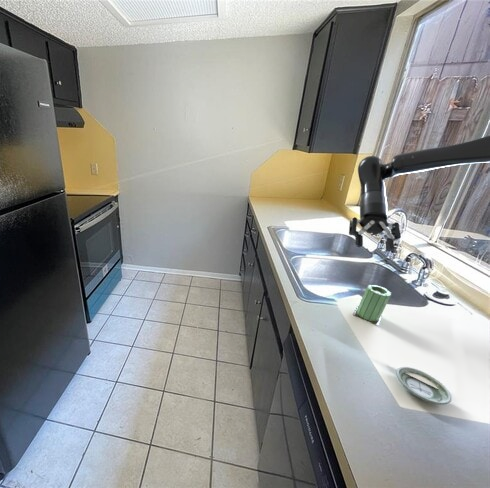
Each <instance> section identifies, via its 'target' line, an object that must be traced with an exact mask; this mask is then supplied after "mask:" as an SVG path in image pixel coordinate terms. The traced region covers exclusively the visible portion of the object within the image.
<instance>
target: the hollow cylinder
mask: <svg viewBox="0 0 490 488" xmlns="http://www.w3.org/2000/svg"><path fill="white" fill-rule="evenodd" d="M374 290H378V291H381V292H382V293H383V294H382V293H378V292H376V291H374ZM391 297H392V292H391V291H390V290H389V289H387V288H385V287H383V286H380V285H376V284H368V285H367V286H366V289H365V291H364V293H363V295H362V297H361V300H360V302H359V304H358V305H357V306H358V309H357V311H356V313H357V314H358V315H359V316H360V317H362V318H363V319H365V320H369V321H372V322H376V321H378V320H379V318H380V316H382V315H383V312H384V310H385V308H386V306H387V303H388V302H389V300H390V298H391ZM363 319H362V320H363ZM365 320H364V321H365Z"/></svg>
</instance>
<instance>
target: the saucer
mask: <svg viewBox="0 0 490 488" xmlns="http://www.w3.org/2000/svg"><path fill="white" fill-rule="evenodd" d="M395 373H396V374H395V375H396V378H397V380H398V381H399V382H400V384H401V385H402V386H403V387H404V388H405V389H406V390H407V392H409V393H410V394H411V395H414V396H415V397H417V398H418V399H420V400H422V401H425V402H427V403H431V404H437V405H448V404H450V403H451V402H452V394H451V392H450V391H449V390H448V388H447V387H446V386H445V385H444V384H443V383H442V382H441V381H440V380H438V379H437V378H436V377H434V376H432V375H430V374H428V373H427V372H425V371H422V370H420V369H418V368H414V367H409V366H401V367H398V368H397V369H396V372H395ZM408 373H411V374H415V375H417V376H420V377H423V378H424V379H425V380H427V381H429V382H430V383H432V384H433V385H435V386H436V387H435V386H433V385H431V384H428V383H427V382H424V381H423V380H421V379H418V378H417V377H414V376H413V375H410V374H408Z"/></svg>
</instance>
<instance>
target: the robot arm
mask: <svg viewBox="0 0 490 488" xmlns="http://www.w3.org/2000/svg"><path fill="white" fill-rule="evenodd" d="M481 163H482V164H483V163H490V135H486V136H484V137H479V138H477V139H473V140H469V141H465V142H461V143H456V144H450V145H444V146H437V147H430V148H425V149H418V150H413V151H408V152H404V153H399V154H396V155H394V156H392V158H391V161H390V162H387V163H385V164H384V162H383V161H382V159H381V158H380V157H379V156H376V155H368V156H366V157H363V158H362V160H361V161H360V162H359V163H358V166H357V174H358V175H357V176H358V179H359V184H360V198H359V199H360V200H359V219H358V218H357V217H355V216H354V217H353V218H351V219H350V221H349V228H348V235H349V236H354V238H355V246H356V247H357V248H361V247H363V245H364V237H363V234H364V233H365V232H366V233H367V234H374V235H379V236H380V237H381V238H383V239H384V240H385V251H386V252H391V251H392V250H394V249H395V242H396V241H398V240H399V239H401V238H402V237H401V229H400V223H399V222H397V221H396V222H394V223H392V222H389V221H388V201H387V195H386V185H385V182H384V181H385V180H388V179H391V178H394V177H397V176H399V175H406V174H411V173H412V174H413V173H419V172H425V171H431V170H435V169H440V168H445V167H447V168H448V167H453V166H459V165H469V164H481ZM358 224H359V226H360V227H361V229H360V230H358V231H357V226H358Z"/></svg>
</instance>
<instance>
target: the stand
mask: <svg viewBox="0 0 490 488" xmlns="http://www.w3.org/2000/svg"><path fill="white" fill-rule="evenodd" d="M374 291H376V292H378V293H382V292H381V291H378V290H374ZM382 294H383V293H382ZM358 306H359V305H356V307H355V309H354V311H353V313H352V316H353V317H356V318H358V319H360V320H363V321H366V322H368V323H369V324H370V323H371V324H373V325H375V326H378V327H379V326H380V323H381V320H382V317H383V316H382V315H381V316H380V318H379V320H378V321H376V322H372V321H369V320H365V319H363V318H362V317H360V316H359V315H358V314H357V313H356V311H357V309H358Z"/></svg>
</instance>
